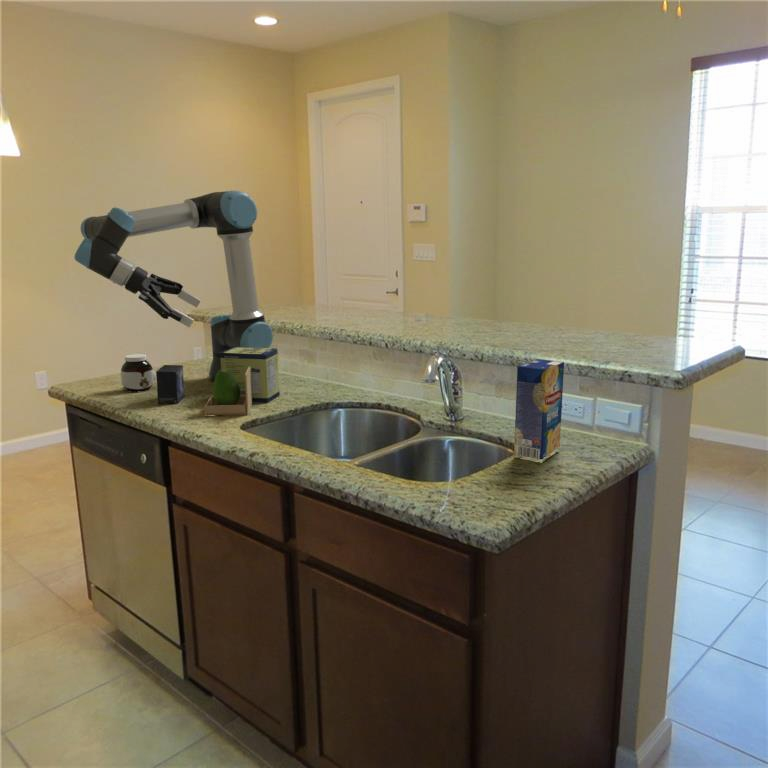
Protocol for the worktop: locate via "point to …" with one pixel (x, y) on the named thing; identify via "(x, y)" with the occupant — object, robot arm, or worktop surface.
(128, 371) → the spread jar
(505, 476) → the worktop surface
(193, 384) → the worktop surface
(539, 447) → the blue cracker box
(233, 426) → the worktop surface
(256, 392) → the protein box
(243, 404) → the mailer box
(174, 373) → the small box
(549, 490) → the worktop surface
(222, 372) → the fruit
